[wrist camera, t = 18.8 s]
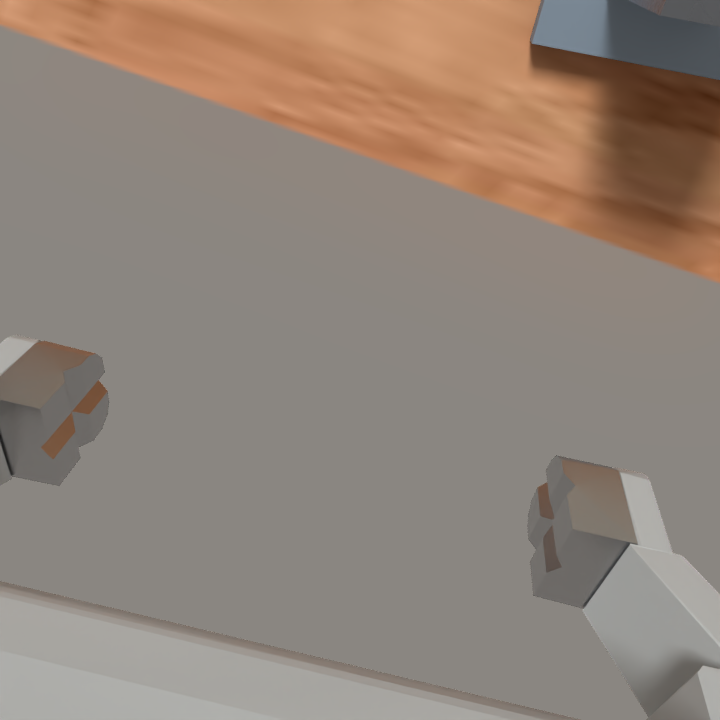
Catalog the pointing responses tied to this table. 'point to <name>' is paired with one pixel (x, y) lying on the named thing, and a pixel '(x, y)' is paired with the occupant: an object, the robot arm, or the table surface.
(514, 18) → the table surface
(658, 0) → the steel collar
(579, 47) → the shaft base
